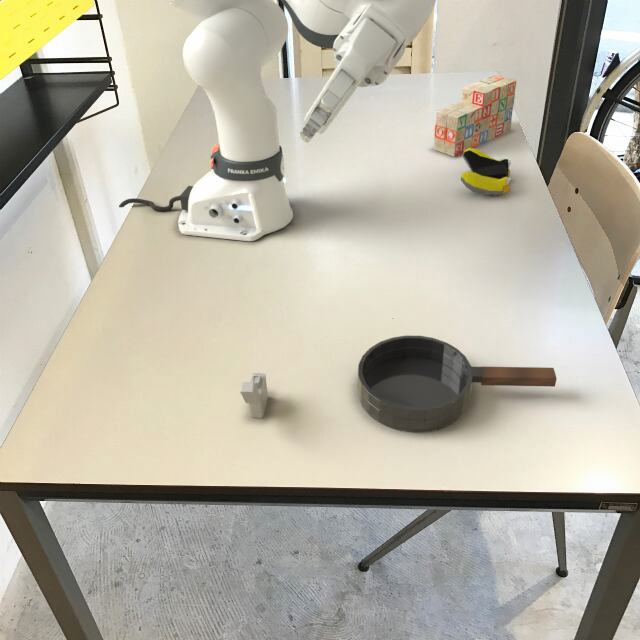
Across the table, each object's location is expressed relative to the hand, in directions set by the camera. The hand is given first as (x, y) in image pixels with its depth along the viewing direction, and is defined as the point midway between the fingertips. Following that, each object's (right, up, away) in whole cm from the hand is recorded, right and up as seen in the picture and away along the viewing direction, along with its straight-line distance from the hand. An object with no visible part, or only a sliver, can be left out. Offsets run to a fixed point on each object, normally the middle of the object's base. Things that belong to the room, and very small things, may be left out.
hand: (314, 123), depth 93 cm
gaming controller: (+35, +2, +53) cm, 63 cm away
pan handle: (+26, -34, 0) cm, 43 cm away
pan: (+14, -36, +3) cm, 39 cm away
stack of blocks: (+37, +16, +72) cm, 82 cm away
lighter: (-8, -39, +1) cm, 40 cm away
